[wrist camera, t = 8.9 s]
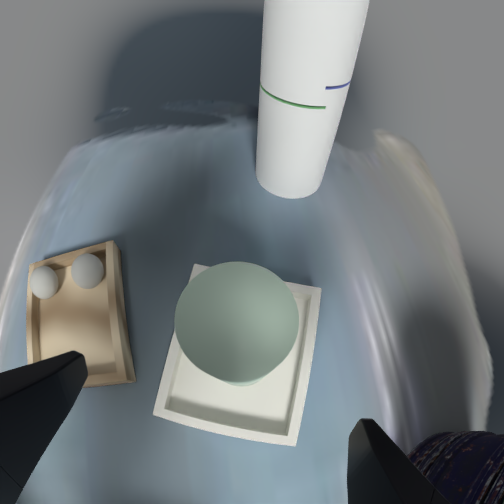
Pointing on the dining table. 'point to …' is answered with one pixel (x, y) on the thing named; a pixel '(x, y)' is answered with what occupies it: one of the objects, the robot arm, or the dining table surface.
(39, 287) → the pebble
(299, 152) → the cylindrical container
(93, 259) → the white ball
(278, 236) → the dining table surface
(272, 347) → the sage green tall cylinder
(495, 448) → the storage jar
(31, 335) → the wooden tray
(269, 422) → the white tray
